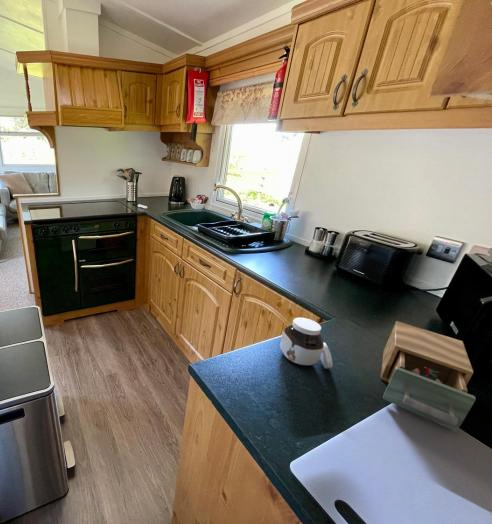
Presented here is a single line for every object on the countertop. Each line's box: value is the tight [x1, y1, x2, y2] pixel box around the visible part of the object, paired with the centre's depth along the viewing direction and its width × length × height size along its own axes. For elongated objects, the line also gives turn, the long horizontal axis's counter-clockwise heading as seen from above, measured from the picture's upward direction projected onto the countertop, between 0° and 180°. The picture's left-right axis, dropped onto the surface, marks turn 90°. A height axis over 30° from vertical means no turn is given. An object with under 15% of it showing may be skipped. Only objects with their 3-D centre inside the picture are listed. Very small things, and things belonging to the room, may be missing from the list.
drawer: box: [382, 350, 476, 432], centre depth 67 cm, size 22×13×9 cm, turn 139°
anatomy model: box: [411, 367, 442, 384], centre depth 69 cm, size 5×8×7 cm, turn 40°
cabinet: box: [380, 320, 474, 386], centre depth 77 cm, size 17×14×11 cm
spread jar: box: [279, 317, 334, 370], centre depth 80 cm, size 12×11×12 cm
